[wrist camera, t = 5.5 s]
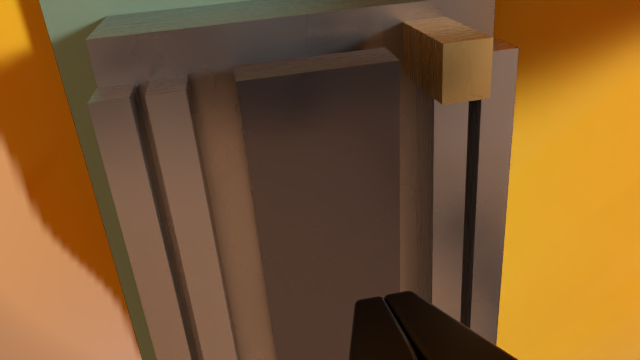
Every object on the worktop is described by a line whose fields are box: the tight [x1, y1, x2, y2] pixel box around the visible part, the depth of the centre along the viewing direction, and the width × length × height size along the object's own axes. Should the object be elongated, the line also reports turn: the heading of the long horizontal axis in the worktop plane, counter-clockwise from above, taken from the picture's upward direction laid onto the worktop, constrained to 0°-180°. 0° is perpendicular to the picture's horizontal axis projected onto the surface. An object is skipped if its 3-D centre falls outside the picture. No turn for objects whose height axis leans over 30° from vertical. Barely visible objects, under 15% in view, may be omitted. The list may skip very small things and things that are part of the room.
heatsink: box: [85, 0, 519, 360], centre depth 16 cm, size 16×9×5 cm, turn 5°
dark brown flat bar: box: [233, 47, 400, 360], centre depth 15 cm, size 14×4×1 cm, turn 5°
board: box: [39, 0, 249, 360], centre depth 18 cm, size 19×12×1 cm, turn 5°
